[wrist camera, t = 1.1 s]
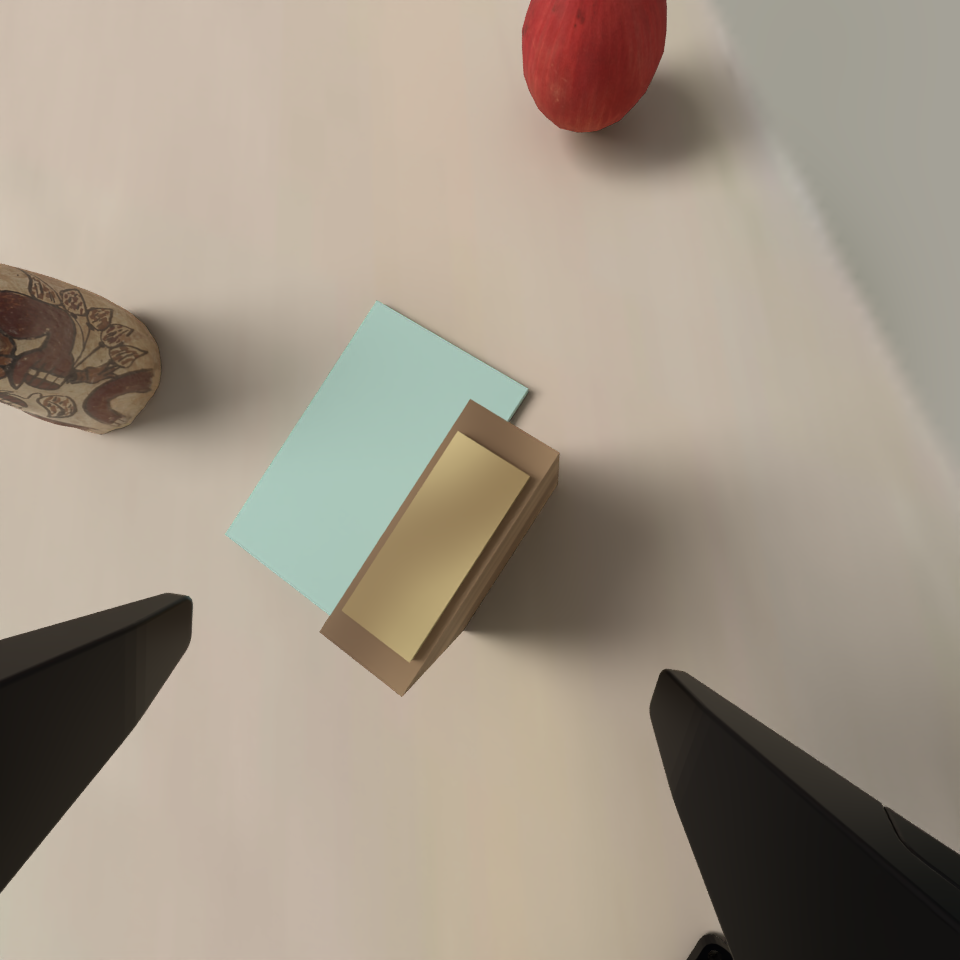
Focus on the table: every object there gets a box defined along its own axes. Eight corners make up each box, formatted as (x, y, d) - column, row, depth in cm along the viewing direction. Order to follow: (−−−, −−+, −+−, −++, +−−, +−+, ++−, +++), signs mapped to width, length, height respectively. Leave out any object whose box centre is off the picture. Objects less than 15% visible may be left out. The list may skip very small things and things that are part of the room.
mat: (528, 391, 22) (528, 388, 21) (367, 640, 22) (364, 642, 21) (380, 304, 23) (376, 300, 23) (230, 534, 23) (224, 534, 23)
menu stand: (557, 484, 21) (559, 450, 12) (463, 630, 21) (398, 700, 12) (500, 448, 22) (464, 393, 13) (408, 590, 22) (309, 630, 13)
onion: (503, 130, 23) (477, -72, 16) (586, 47, 23) (601, -200, 15) (585, 198, 22) (601, 18, 15) (672, 112, 22) (737, -118, 14)
